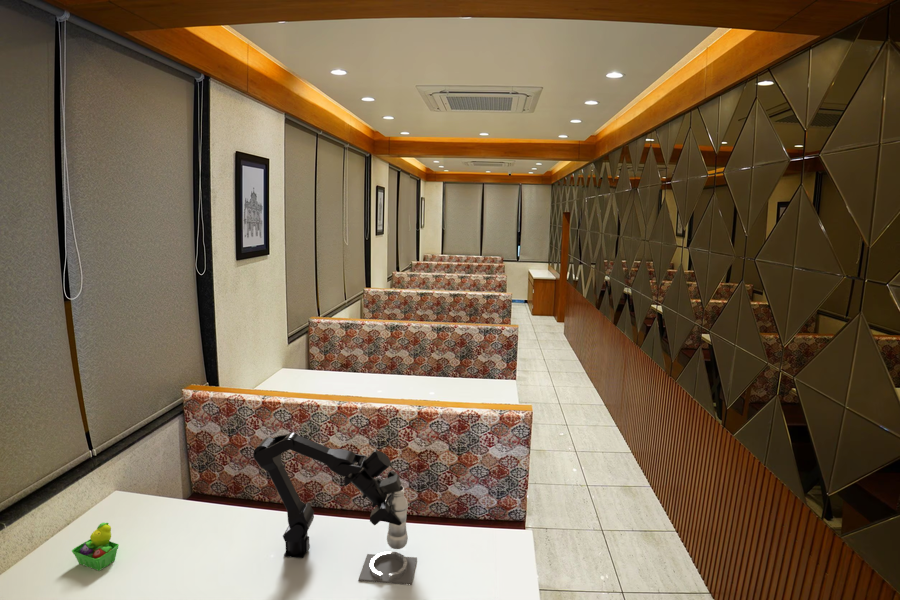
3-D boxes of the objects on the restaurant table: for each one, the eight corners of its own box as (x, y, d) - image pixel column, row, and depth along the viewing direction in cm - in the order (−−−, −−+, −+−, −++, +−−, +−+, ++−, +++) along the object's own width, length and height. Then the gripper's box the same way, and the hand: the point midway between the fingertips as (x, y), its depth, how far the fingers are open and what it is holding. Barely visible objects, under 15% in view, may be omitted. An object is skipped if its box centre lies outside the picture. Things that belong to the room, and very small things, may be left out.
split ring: (366, 579, 158) (366, 574, 158) (374, 554, 169) (374, 550, 169) (403, 582, 158) (403, 577, 157) (409, 557, 169) (409, 552, 168)
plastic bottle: (401, 554, 165) (402, 496, 162) (382, 548, 168) (383, 490, 164) (411, 542, 171) (412, 485, 167) (392, 536, 174) (393, 480, 170)
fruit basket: (71, 565, 162) (67, 532, 160) (99, 548, 171) (95, 516, 169) (98, 575, 159) (94, 541, 156) (125, 557, 167) (122, 524, 165)
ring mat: (358, 580, 158) (358, 579, 158) (367, 555, 170) (367, 553, 170) (411, 584, 157) (411, 583, 157) (416, 559, 169) (416, 557, 169)
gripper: (381, 484, 156) (417, 520, 157) (390, 454, 174) (422, 487, 176) (354, 507, 157) (390, 543, 159) (366, 475, 176) (398, 507, 177)
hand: (401, 518), depth 168 cm, fingers closed on plastic bottle, 6 cm apart
